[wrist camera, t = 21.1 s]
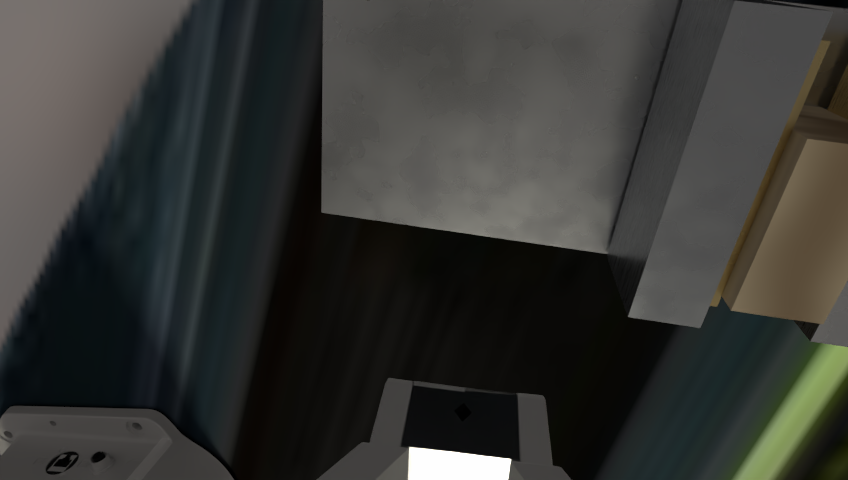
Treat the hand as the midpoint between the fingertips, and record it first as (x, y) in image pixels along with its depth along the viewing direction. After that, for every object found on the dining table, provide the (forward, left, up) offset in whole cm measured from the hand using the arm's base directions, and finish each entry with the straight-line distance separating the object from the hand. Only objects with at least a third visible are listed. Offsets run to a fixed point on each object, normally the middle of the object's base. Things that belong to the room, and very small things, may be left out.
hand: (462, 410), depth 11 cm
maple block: (+14, -1, -21) cm, 25 cm away
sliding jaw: (+10, 0, -21) cm, 23 cm away
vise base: (+6, 0, -23) cm, 24 cm away
